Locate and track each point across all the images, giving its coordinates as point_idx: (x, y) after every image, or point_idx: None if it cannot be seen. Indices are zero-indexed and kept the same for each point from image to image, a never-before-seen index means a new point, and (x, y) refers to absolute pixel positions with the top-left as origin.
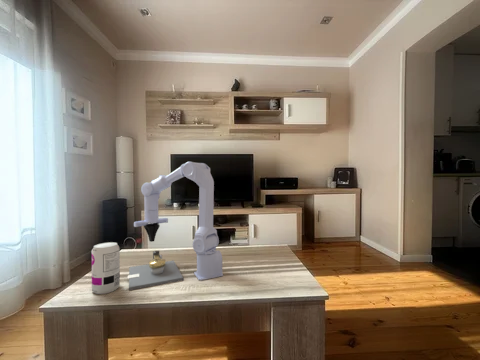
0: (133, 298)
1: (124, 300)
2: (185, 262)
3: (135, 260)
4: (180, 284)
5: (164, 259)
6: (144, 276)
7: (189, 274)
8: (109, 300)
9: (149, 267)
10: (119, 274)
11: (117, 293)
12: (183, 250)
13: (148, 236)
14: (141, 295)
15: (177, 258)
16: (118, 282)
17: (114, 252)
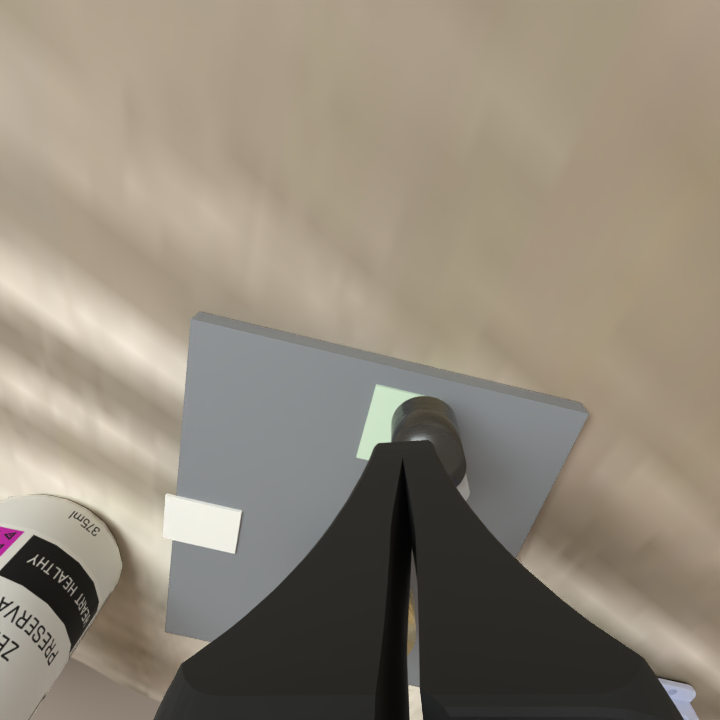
0: None
1: (150, 676)
2: (658, 460)
3: (298, 28)
4: (409, 699)
5: (414, 632)
6: (265, 564)
7: None
8: (90, 645)
9: (340, 441)
10: (84, 626)
11: (120, 611)
12: None
13: (355, 495)
14: None
15: (693, 309)
16: (103, 604)
17: None
